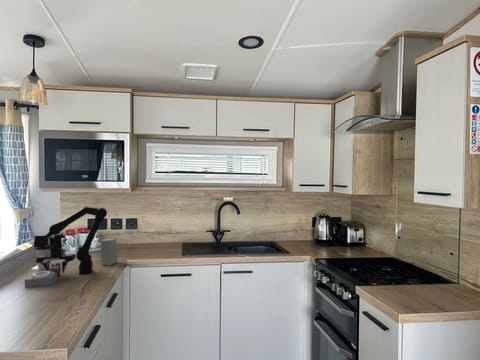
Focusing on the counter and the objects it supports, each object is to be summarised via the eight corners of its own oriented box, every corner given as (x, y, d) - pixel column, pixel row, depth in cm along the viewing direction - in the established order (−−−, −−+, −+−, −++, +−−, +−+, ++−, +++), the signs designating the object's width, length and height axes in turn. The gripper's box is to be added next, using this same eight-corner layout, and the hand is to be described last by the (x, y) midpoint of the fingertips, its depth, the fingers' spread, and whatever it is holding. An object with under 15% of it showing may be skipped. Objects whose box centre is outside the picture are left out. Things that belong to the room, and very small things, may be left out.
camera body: (57, 280, 173) (56, 269, 172) (50, 285, 164) (50, 275, 164) (32, 281, 170) (32, 271, 170) (24, 287, 161) (24, 276, 161)
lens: (62, 274, 182) (62, 262, 182) (59, 277, 178) (59, 264, 177) (53, 275, 181) (53, 263, 181) (50, 277, 177) (50, 265, 177)
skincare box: (109, 265, 199) (109, 240, 199) (99, 265, 201) (99, 240, 200) (117, 262, 207) (117, 238, 207) (108, 261, 209) (107, 237, 209)
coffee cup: (32, 272, 186) (32, 247, 186) (38, 267, 196) (37, 243, 195) (50, 271, 189) (50, 246, 189) (55, 266, 198) (55, 242, 198)
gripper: (78, 242, 189) (78, 268, 189) (43, 243, 185) (44, 270, 185) (71, 246, 178) (72, 273, 178) (35, 248, 174) (35, 276, 175)
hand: (56, 273), depth 179 cm, fingers open, 7 cm apart
